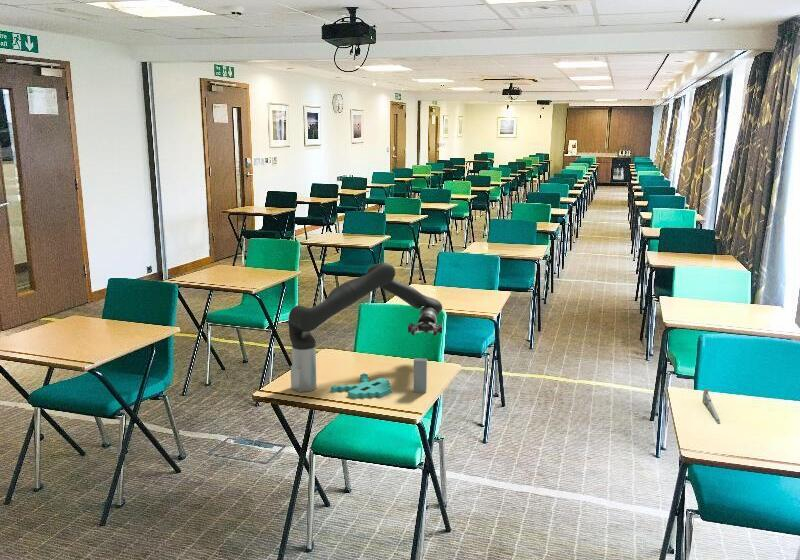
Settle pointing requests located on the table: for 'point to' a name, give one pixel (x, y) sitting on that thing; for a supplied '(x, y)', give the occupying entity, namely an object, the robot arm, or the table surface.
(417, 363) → the grey rectangular block
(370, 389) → the alien figure
